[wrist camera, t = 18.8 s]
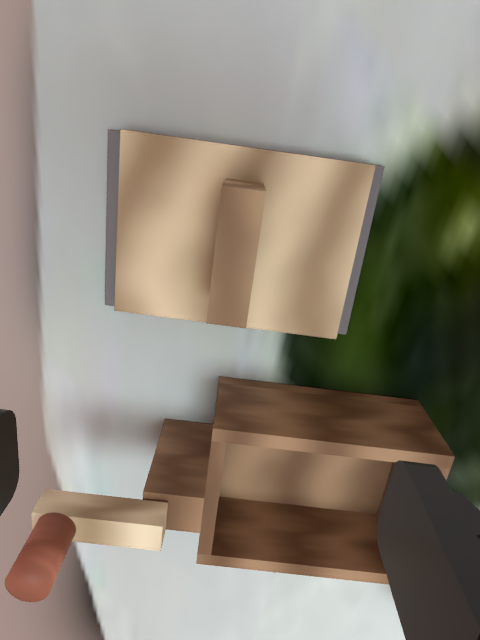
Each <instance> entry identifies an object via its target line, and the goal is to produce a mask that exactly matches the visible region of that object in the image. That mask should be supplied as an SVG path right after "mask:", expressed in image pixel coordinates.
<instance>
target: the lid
mask: <svg viewBox="0 0 480 640" xmlns="http://www.w3.org/2000/svg"><path fill="white" fill-rule="evenodd" d="M375 167H376V165H371V164H364V163H357V162H350V161H343V160H336V159H329V158H322V157H314V156H307V155H300V154H293V153H286V152H279V151H272V150H265V149H258V148H251V147H244V146H237V145H230V144H223V143H215V142H208V141H201V140H194V139H187V138H180V137H173V136H166V135H159V134H152V133H145V132H138V131H131V130H122V129H120V158H119V188H118V218H117V248H116V278H115V308H114V311H122V312H129V313H137V314H145V315H153V316H160V317H168V318H176V319H184V320H191V321H199V322H206V323H209V324H217V325H225V326H232V327H240V328H253V329H261V330H269V331H277V332H284V333H292V334H300V335H308V336H315V337H323V338H331V339H336V337H337V333H338V329H339V324H340V320H341V315H342V311H343V307H344V302H345V298H346V294H347V289H348V285H349V280H350V276H351V272H352V267H353V263H354V259H355V254H356V250H357V245H358V241H359V237H360V232H361V228H362V224H363V219H364V215H365V210H366V206H367V202H368V197H369V193H370V189H371V184H372V180H373V175H374V171H375Z"/></svg>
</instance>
